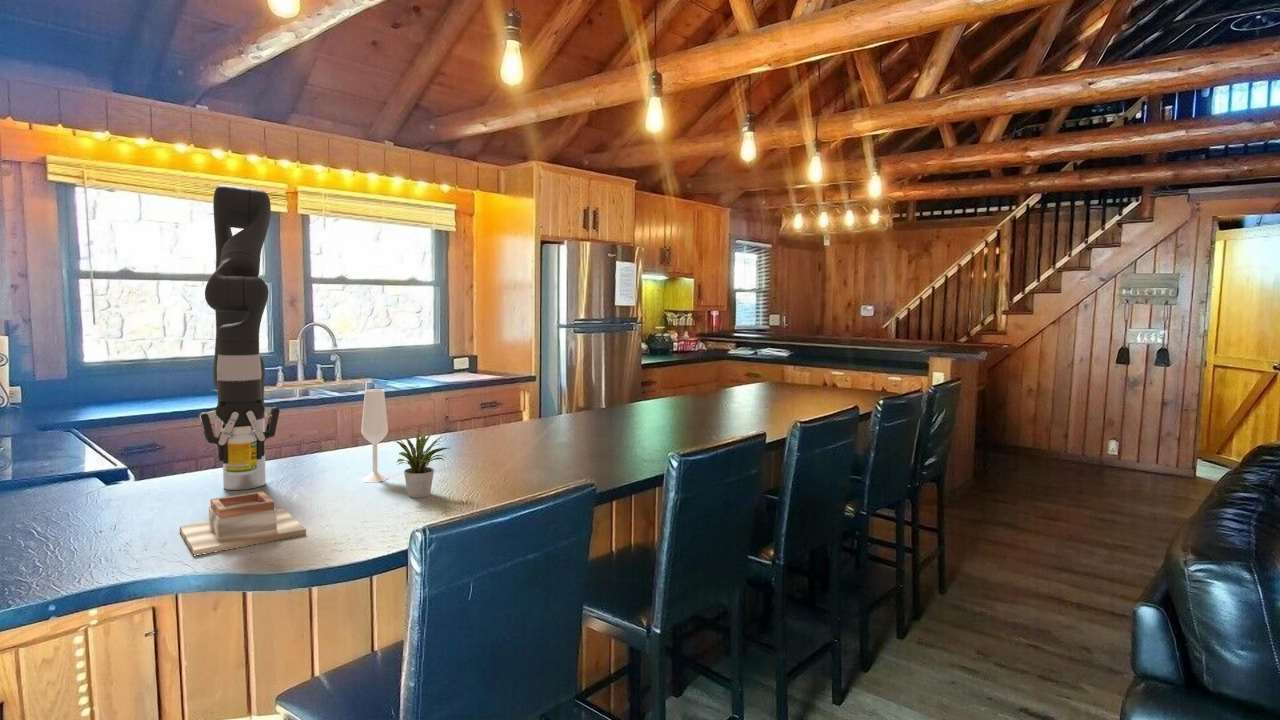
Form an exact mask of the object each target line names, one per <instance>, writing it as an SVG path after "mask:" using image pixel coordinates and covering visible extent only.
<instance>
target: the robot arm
mask: <svg viewBox="0 0 1280 720" xmlns="http://www.w3.org/2000/svg"><path fill="white" fill-rule="evenodd" d="M212 200H213V203H212V204H213V220H214V221H213V222H214V223H213V225H214V236H215V237H214V239H215V240H214V241H215V271H214V272H213V273H212V274H211V276H210V277H209V279H208V281H207V283H206V286H205V288H204V289H205V290H204V298H205V299H204V300H205V301H206V304H207V305H208V306H209V307H210V308H211V309H212V310H214V311H215V344H214V345H215V347H214V360H213V374H212V375H213V383H214V388H215V389H216V390H217V405H216V407H215V409H214V410H211V411H205V412H204V411H202V412H199V414H198V417H199V419H200V420H199V421H200V424H201V428H202V430H203V435H204V438H205V441H207V442H208V443H209V444H214V445H215V444H216V451H217V452H216V453H217V459H218V461H219V462H221V463H222V475H223V477H222V479H223V480H222V481H223V484H222V485H223V487H222V488H223V489H225V490H229V491H230V490H231V491H233V490H234V491H238V490H240V491H241V490H250V489H255V488H260V487H262V486H264V485H266V484H267V482H266V481H267V480H266V478H267V477H266V440H267V439H269V438H273V437H275V434H276V430H277V426H278V420H279V415H280V409H279V408H278V407H275V406H272V407H269V406H268V407H267V406H265V397H264V395H265V377H266V375H265V373H266V372H265V370H266V369H265V367H266V366H265V362H264V359H263V358H262V356H261V355H260V331H261V330H260V329H261V328H260V327H261V322H262V318H263V315H264V312H265V308H266V305H267V303H268V298H269V287H268V285H267V284H266V282H265V280H263V279H262V278H260V277H259V276H260V271H261V270H260V269H261V253H262V249H263V246H264V243H265V240H266V238H267V237H266V236H267V233H268V230H269V226H270V221H271V212H272V211H271V209H272V207H271V198H270V197H269V194H268V193H267V192H266V191H264V190H260V189H256V188H248V187H242V186H234V185H226V184H225V185H224V184H220V185H218V186H217V187H216V188H215V190H214V193H213V199H212ZM232 229H242V230H240V231H238V232H236V233H235V234H234V235H233V231H232ZM215 417H218V418H219V419H220V420H221V427H220V430H219V433H218V435H217V436H216V435H215V436H214V431H213V426H212V424H211V423H213V422H214V421H215ZM265 417H267V423H266V426H265ZM242 426H252V428H253V431H252V432H251V434H253V435H255V436H256V439H257V471H256V472H254V473H252V474H248V475H240V476H233V475H228V474H227V473H226V463H227V445H226V441H227V438H228V437H229V436H231V434H230V433H231V431H232V429H233V427H242ZM265 427H266V428H265Z"/></svg>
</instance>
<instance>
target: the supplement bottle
mask: <svg viewBox="0 0 1280 720" xmlns="http://www.w3.org/2000/svg"><path fill="white" fill-rule="evenodd" d="M252 431H253V428H252V426H242V427H233V429H232V431H231V433H230V434H231V436H229V437H228V438H227V441H226V445H227V463H226V473H227V474H228V475H233V476H240V475H248V474H252V473H254V472H256V471H257V439H256V436H255V435H253V434H251V432H252Z"/></svg>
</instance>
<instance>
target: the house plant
mask: <svg viewBox="0 0 1280 720" xmlns="http://www.w3.org/2000/svg"><path fill="white" fill-rule="evenodd" d="M433 433H434V431H432V432H431V433H430V434H429V435H428V436H427V437H426V432H424V433H423V434H422V435H421V436H420V429H417V431H416V440H415V441H416V442H415V443H416V444H415V446H414V444H413V442H412V441H411V440H410V439H409V438H408V437H406V436H404V439H405V440H406V443H407V445H408V446H407V445H406V444H405V443H404V441H402V440H401V439H399V441H398V440H394V442H395V443H397V444H398V445H399V446H400V447H401V449H403V450H404V451H401V452H399V453H398V455H401V456H403V457H404V458H406V459H407V460H406V459H404V458H398V459H397V461H396V463H398V464H397V466H398V465H401V464H405V461H406V464H408V466H410V468H406V469H404V471H403V472H404V473H403V474H404V479H405V484H406V489H407V490H406V491H407V497H409V498H411V497H412V499H421V498H420V497H423V498H426V497H425V496H427V497H429V496H430V495H431V491H432V485H433V479H434V474H435V469H434V468H433V467H429V465H430V464H431V463H432V462H434V461H435V460H442V461H445V459H444V458H446V459H447V457H446V455H444V454H437V453H439V452H441V451H444V450H448V449H450V450H451V447H440V448H435V449H432V448H433V447H434V446H437V445H438V446H439V445H440V443H439V442H442V440H440V439H441V438H443V437H445V435H443V436H440V437H438V438H436V439H435V440H434V441H433V442H432V443H431V444H430V445H429V447H427V448H426V449H424V448H425V446H426V444H427V442H428V440H429V439H430V438H431V436H432V435H433ZM439 440H440V441H439ZM447 441H448V440H445V442H447ZM409 448H410V449H409ZM435 454H436V455H435ZM431 461H432V462H431ZM428 495H429V496H428Z"/></svg>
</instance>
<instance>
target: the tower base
mask: <svg viewBox="0 0 1280 720" xmlns="http://www.w3.org/2000/svg"><path fill="white" fill-rule="evenodd" d="M180 532H181V533H180ZM179 533H180V535H181V534H182V535H183V537H184V538H183V537H182V538H183V540H184V539H185V540H184V542H185V541H186V542H187V544H188V545H187V544H186V545H187V547H188V546H189V547H188V549H189V548H190V549H191V551H192V552H191V551H190V552H191V554H192V553H193V554H194V555H197V554H203V553H209V552H215V551H220V550H226V549H231V550H234V549H233V548H236V549H240V548H239V547H241V548H245V547H244V546H246V547H249V546H248V545H251V546H254V545H253V544H256V545H259V544H258V543H261V544H265V543H264V542H266V543H270V542H269V541H272V542H275V541H274V540H277V541H280V540H279V539H282V540H285V539H284V538H287V539H290V538H289V537H292V538H296V536H297V537H301V536H306V535H307V528H305V526H303V525H302V524H301V523H300V522H299V521H298V520H296V518H294V517H293V516H292V515H291V513H289V512H288V511H287V510H286V509H285V508H281V509H276V507H275V501H274V500H273V499H272V498H271V497H270V496H269V495H268V494H266V493H265V492H264V491H263V490H262V491H256V492H251V493H243V494H237V495H230V496H224V497H223V496H222V497H216V498H210V506H208V521H202V522H196V523H190V524H185V525H179ZM182 535H181V536H182ZM186 542H185V543H186ZM190 549H189V550H190ZM226 551H227V550H226ZM220 552H221V551H220ZM215 553H216V552H215ZM193 554H192V555H193Z"/></svg>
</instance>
